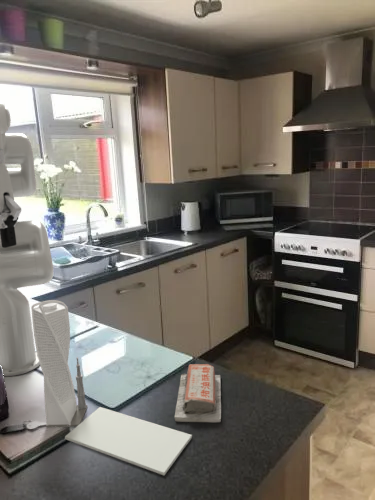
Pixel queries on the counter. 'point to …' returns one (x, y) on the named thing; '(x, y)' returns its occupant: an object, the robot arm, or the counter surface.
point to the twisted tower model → (57, 365)
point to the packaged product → (199, 395)
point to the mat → (130, 439)
